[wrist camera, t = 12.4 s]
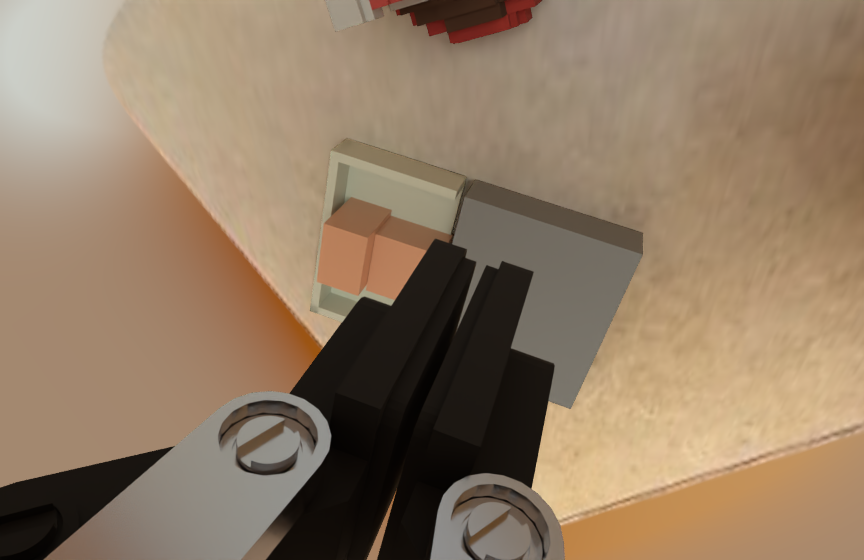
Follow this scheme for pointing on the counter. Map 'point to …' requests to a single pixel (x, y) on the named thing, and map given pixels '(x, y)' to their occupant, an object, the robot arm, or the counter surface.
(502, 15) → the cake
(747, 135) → the counter surface
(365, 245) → the tile
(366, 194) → the sage bin
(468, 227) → the slate board
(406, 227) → the tile
